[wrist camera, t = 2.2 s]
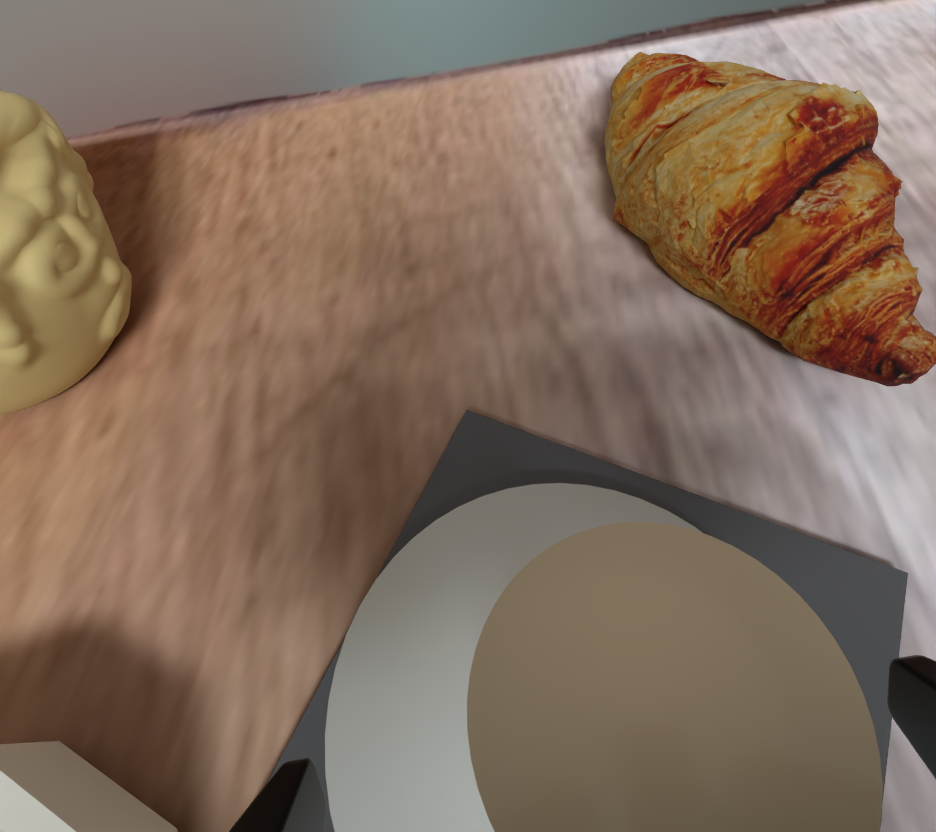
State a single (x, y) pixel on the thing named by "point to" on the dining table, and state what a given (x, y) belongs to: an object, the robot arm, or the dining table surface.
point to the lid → (592, 682)
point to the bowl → (65, 794)
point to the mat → (779, 549)
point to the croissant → (770, 208)
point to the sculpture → (51, 261)
